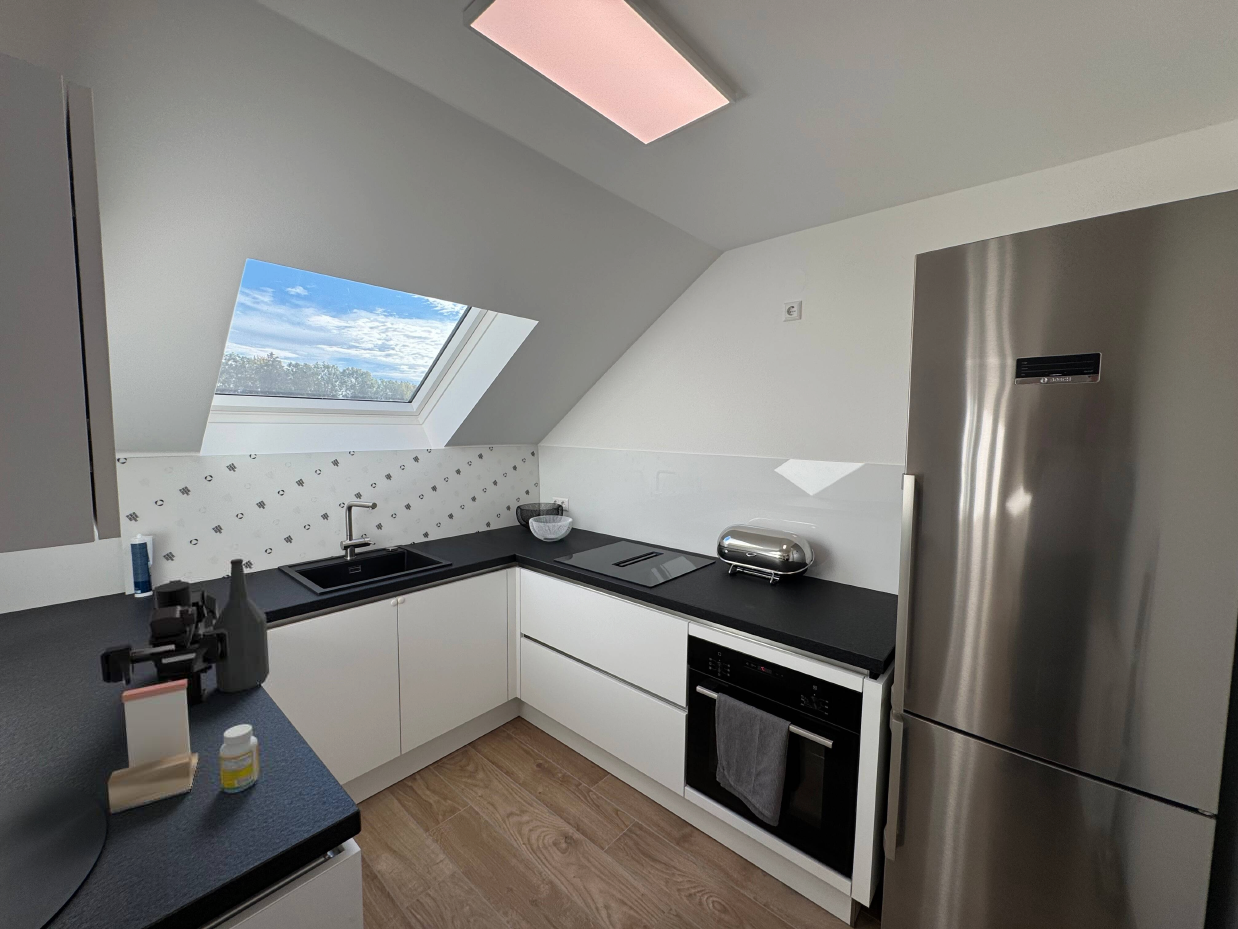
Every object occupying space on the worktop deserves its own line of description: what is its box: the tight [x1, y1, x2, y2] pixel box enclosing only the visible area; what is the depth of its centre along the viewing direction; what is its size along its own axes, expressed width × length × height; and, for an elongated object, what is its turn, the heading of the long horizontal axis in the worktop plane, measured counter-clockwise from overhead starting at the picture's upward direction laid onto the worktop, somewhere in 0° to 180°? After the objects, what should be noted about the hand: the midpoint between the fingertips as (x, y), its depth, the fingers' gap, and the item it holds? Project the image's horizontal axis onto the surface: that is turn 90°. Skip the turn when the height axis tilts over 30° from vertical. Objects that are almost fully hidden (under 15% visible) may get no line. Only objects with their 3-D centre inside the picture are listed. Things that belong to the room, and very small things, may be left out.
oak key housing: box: [107, 751, 199, 812], centre depth 91 cm, size 10×10×6 cm
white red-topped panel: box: [121, 679, 191, 768], centre depth 94 cm, size 2×8×14 cm, turn 122°
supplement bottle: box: [219, 723, 260, 790], centre depth 92 cm, size 5×5×10 cm
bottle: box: [212, 558, 270, 693], centre depth 126 cm, size 10×10×30 cm
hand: (160, 676), depth 97 cm, fingers open, 9 cm apart
